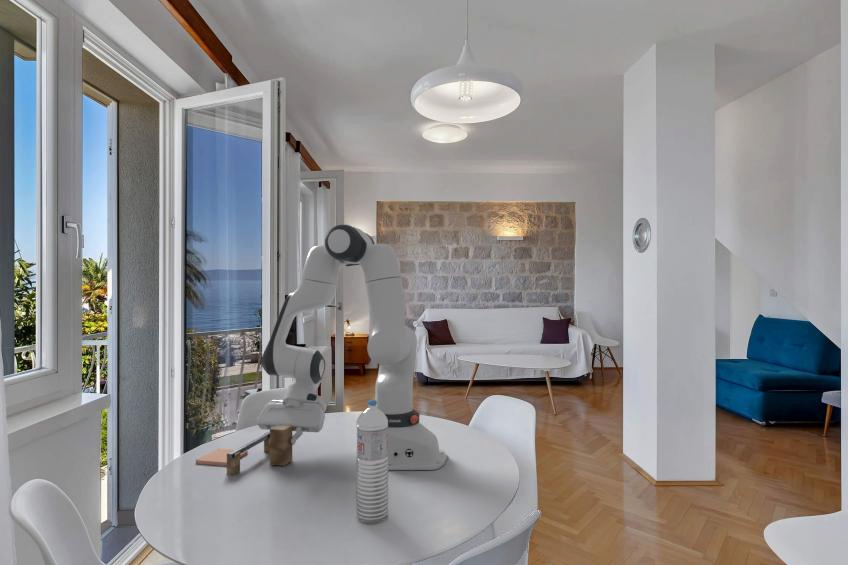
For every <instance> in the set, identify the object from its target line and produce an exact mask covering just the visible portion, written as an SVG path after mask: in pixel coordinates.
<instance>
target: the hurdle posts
mask: <svg viewBox="0 0 848 565" xmlns="http://www.w3.org/2000/svg"><path fill="white" fill-rule="evenodd" d="M268 432H269V431H266V432H265V433H263V435H264V434H266V433H268ZM269 440H270V437H269V438H268V439H266V440H264V441H263V452H265V453H270V442H269ZM231 452H232V451H231ZM231 452H229V453H231ZM229 453H227V466H226V475H230V476H235V475H237V474H238V473H240V472H241V458H240V452H238V453H236V454H234V458H232V459H230V458H228V454H229Z"/></svg>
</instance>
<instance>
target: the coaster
mask: <svg viewBox="0 0 848 565" xmlns="http://www.w3.org/2000/svg"><path fill="white" fill-rule="evenodd" d="M234 450H235V449H233V448H232V449H231V448H217V449H215V450H213V451H210V452H209V453H207V454H205V455H203V456H201V457H199V458H197V459H195V464H198V465H209V466H220V467H221V466H223V467H227V453H229V452H231V451H234ZM246 454H247V455H248V450H246V451H245V452H243V453H241V454H240V459H241V458H243V457H245V456H247V455H246Z"/></svg>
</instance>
